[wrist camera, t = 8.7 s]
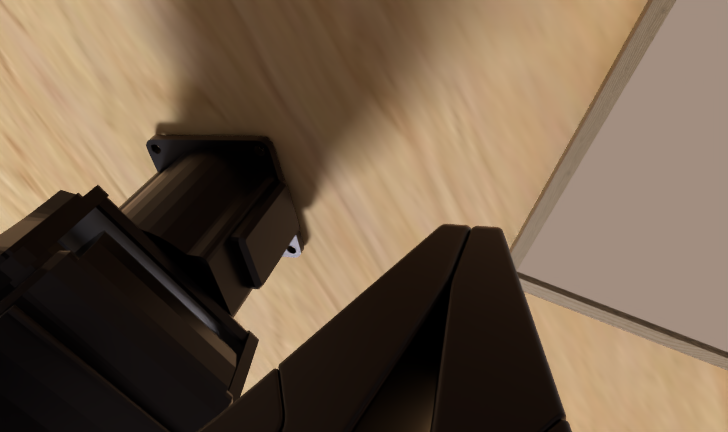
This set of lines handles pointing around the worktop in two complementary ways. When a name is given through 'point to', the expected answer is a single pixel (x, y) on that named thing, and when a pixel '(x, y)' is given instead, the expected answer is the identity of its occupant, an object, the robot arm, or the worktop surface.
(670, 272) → the picture frame
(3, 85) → the worktop surface
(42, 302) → the robot arm
